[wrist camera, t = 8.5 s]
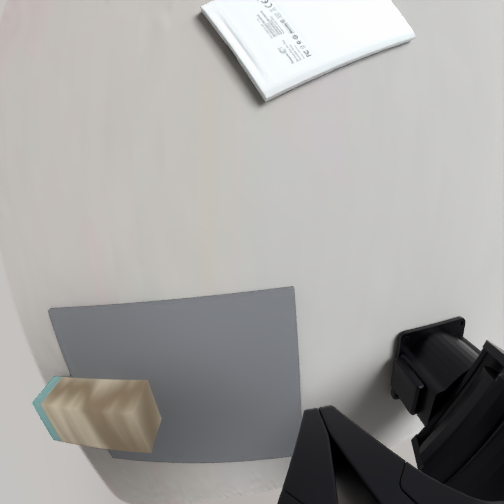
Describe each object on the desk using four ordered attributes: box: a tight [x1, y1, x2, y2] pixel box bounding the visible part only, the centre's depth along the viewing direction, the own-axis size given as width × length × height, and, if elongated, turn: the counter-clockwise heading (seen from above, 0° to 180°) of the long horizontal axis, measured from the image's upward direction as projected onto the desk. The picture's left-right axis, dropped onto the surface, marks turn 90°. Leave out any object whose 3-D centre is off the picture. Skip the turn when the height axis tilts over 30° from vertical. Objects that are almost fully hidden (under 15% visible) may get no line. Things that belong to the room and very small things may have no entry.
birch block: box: [33, 376, 162, 453], centre depth 19 cm, size 4×4×9 cm
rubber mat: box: [48, 286, 301, 463], centre depth 21 cm, size 18×16×1 cm
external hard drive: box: [200, 0, 415, 102], centre depth 16 cm, size 2×8×12 cm
